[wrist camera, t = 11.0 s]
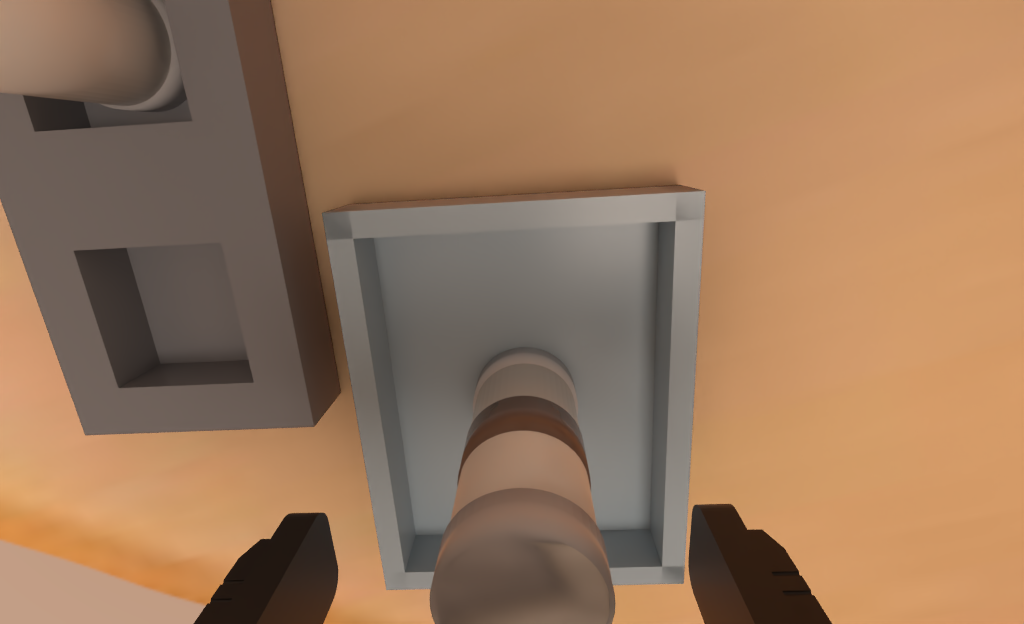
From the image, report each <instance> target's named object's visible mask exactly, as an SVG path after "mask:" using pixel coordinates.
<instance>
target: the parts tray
mask: <svg viewBox="0 0 1024 624" xmlns="http://www.w3.org/2000/svg"><path fill="white" fill-rule="evenodd" d="M705 192H706V191H704V190H699V189H695V188H691V187H686V186H682V185H673V186H656V187H639V188H621V189H604V190H587V191H570V192H552V193H535V194H518V195H501V196H483V197H466V198H449V199H432V200H414V201H397V202H380V203H363V204H350V205H346V206H343V207H340V208H336V209H333V210H330V211H326V212H323V213H322V217H323V222H324V228H325V234H326V240H327V246H328V252H329V257H330V263H331V269H332V275H333V281H334V287H335V292H336V298H337V304H338V310H339V316H340V322H341V327H342V333H343V339H344V345H345V351H346V357H347V362H348V368H349V374H350V380H351V386H352V392H353V397H354V403H355V409H356V415H357V421H358V427H359V432H360V438H361V444H362V450H363V456H364V462H365V467H366V473H367V479H368V485H369V491H370V497H371V503H372V508H373V514H374V520H375V526H376V532H377V538H378V543H379V549H380V555H381V561H382V567H383V573H384V578H385V584H386V590H406V589H431V585H432V581H433V576H434V572H435V567H436V563H437V558H438V554H439V549H440V545H441V541H442V538H443V534H444V532H445V530H446V528H447V526H448V524H449V523H450V521H451V516H452V511H453V507H454V502H455V497H456V492H457V488H458V485H457V481H458V474H459V469H460V465H461V460H462V456H463V451H464V447H465V442H466V437H467V434H468V431H469V428H470V426H471V422H472V417H473V399H474V394H475V390H476V385H477V381H478V378H479V376H480V373H481V371H482V370H483V368H484V367H485V365H486V364H487V363H488V362H489V361H490V360H491V359H492V358H494V357H495V356H497V355H498V354H500V353H502V352H504V351H507V350H509V349H513V348H520V347H531V348H537V349H541V350H544V351H546V352H549V353H551V354H552V355H554V356H556V357H557V358H558V359H560V360H561V361H562V362H563V363H564V365H565V366H566V367H567V368H568V370H569V372H570V373H571V376H572V378H573V381H574V385H575V390H576V396H577V401H578V415H577V418H578V423H579V428H580V431H581V433H582V437H583V441H584V447H585V452H586V458H587V463H588V468H589V474H590V480H591V496H592V501H593V507H594V512H595V518H596V524H597V527H598V528H599V530H600V532H601V534H602V537H603V539H604V543H605V547H606V552H607V558H608V563H609V568H610V573H611V579H612V584H613V585H643V584H684V568H685V550H686V532H687V514H688V496H689V478H690V460H691V443H692V425H693V407H694V389H695V371H696V353H697V335H698V317H699V299H700V281H701V263H702V246H703V228H704V210H705Z"/></svg>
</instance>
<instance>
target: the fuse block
mask: <svg viewBox="0 0 1024 624" xmlns="http://www.w3.org/2000/svg"><path fill="white" fill-rule="evenodd" d="M164 3H165V7H166V12H167V16H168V20H169V24H170V29H171V33H172V37H173V41H174V46H175V50H176V54H177V58H178V63H179V67H180V71H181V75H182V80H183V84H184V88H185V92H186V97H187V100H186V101H185V102H183V103H182V104H181V105H179V106H178V107H176V108H174V109H172V110H168V111H165V112H158V113H151V112H141V111H131V110H121V109H114V108H110V107H107V106H104V105H101V104H99V103H90V102H81V101H72V100H62V99H53V98H44V97H35V96H26V95H17V94H8V93H0V199H1V202H2V205H3V208H4V210H5V213H6V216H7V219H8V222H9V224H10V227H11V230H12V233H13V235H14V238H15V241H16V244H17V247H18V249H19V252H20V255H21V258H22V260H23V263H24V266H25V269H26V272H27V274H28V277H29V280H30V283H31V286H32V288H33V291H34V294H35V297H36V299H37V302H38V305H39V308H40V311H41V313H42V316H43V319H44V322H45V324H46V327H47V330H48V333H49V336H50V338H51V341H52V344H53V347H54V350H55V352H56V355H57V358H58V361H59V363H60V366H61V369H62V372H63V375H64V377H65V380H66V383H67V386H68V389H69V391H70V394H71V397H72V400H73V402H74V405H75V408H76V411H77V414H78V416H79V419H80V422H81V425H82V427H83V430H84V433H85V435H105V434H132V433H159V432H186V431H213V430H241V429H268V428H295V427H314V426H315V425H316V424H317V423H318V421H319V420H320V419H321V417H322V416H323V415H324V413H325V412H326V411H327V410H328V408H329V407H330V406H331V404H332V403H333V402H334V401H335V399H336V398H337V397H338V395H339V394H340V393H341V392H340V386H339V381H338V375H337V370H336V364H335V358H334V353H333V347H332V342H331V336H330V330H329V325H328V319H327V314H326V308H325V303H324V297H323V291H322V286H321V280H320V275H319V269H318V264H317V258H316V252H315V247H314V241H313V236H312V230H311V225H310V219H309V213H308V208H307V202H306V197H305V191H304V185H303V180H302V174H301V169H300V163H299V158H298V152H297V146H296V141H295V135H294V130H293V124H292V119H291V113H290V107H289V102H288V96H287V91H286V85H285V80H284V74H283V68H282V63H281V57H280V52H279V46H278V41H277V35H276V29H275V24H274V18H273V13H272V7H271V1H270V0H164Z"/></svg>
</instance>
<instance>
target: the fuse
mask: <svg viewBox="0 0 1024 624" xmlns="http://www.w3.org/2000/svg"><path fill="white" fill-rule="evenodd" d="M0 93H8V94H17V95H26V96H35V97H44V98H53V99H62V100H72V101H81V102H90V103H99V104H101V105H104V106H107V107H110V108H114V109H121V110H131V111H141V112H151V113H158V112H165V111H168V110H172V109H174V108H176V107H178V106H179V105H181V104H182V103H183V102H185V101H186V100H187V97H186V92H185V88H184V84H183V80H182V75H181V71H180V67H179V63H178V58H177V54H176V50H175V46H174V41H173V37H172V33H171V29H170V24H169V20H168V16H167V12H166V7H165V3H164V0H0Z"/></svg>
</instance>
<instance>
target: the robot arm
mask: <svg viewBox="0 0 1024 624" xmlns="http://www.w3.org/2000/svg"><path fill="white" fill-rule="evenodd" d="M689 575H690V581H691V585H692V589H693V593H694V596H695V598H696V601H697V604H698V607H699V609H700V612H701V615H702V617H703V620H704V623H705V624H832V623H831V621H830V620H829V618H828V617H827V615H826V613H825V612H824V610H823V609H822V607H821V606H820V604H819V602H818V601H817V599H816V598H815V596H814V595H812V594H811V590H810V588H809V587H808V585H807V583H806V582H805V580H804V579H803V577H802V576H800V575H799V571H798V569H797V568H796V566H795V565H794V563H793V561H792V560H791V558H790V557H789V555H788V553H787V552H786V550H785V549H784V548H783V547H782V546H781V545H780V544H778V543H777V542H776V541H775V540H774V539H773V538H771V537H770V536H769V535H768V534H767V533H765V532H764V531H763V530H747V528H746V527H745V525H744V523H743V521H742V519H741V518H740V516H739V514H738V512H737V511H736V509H735V508H734V506H733V505H731V504H707V505H695V506H694V507H693V511H692V522H691V535H690V548H689ZM337 582H338V565H337V560H336V555H335V551H334V546H333V541H332V536H331V531H330V526H329V522H328V518H327V516H326V514H325V513H291V514H288V515H287V516H286V517H285V518H284V519H283V521H282V522H281V524H280V525H279V527H278V528H277V530H276V531H275V533H274V535H273V536H272V538H271V539H261V540H260V541H259V542H257V543H256V544H255V545H254V546H253V547H251V548H250V549H249V550H248V551H247V552H246V553H244V554H243V555H242V556H241V557H240V558H239V559H238V560H237V562H236V563H235V565H234V566H233V567H232V569H231V570H230V572H229V573H228V575H227V576H226V578H225V579H224V583H223V585H220V586H219V588H218V589H217V591H216V592H215V594H214V595H213V596H212V598H211V602H210V604H207V605H206V607H205V608H204V609H203V611H202V612H201V614H200V615H199V617H198V618H197V620H196V621H195V623H194V624H323V623H324V620H325V618H326V616H327V613H328V611H329V608H330V606H331V604H332V601H333V599H334V596H335V593H336V588H337Z"/></svg>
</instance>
